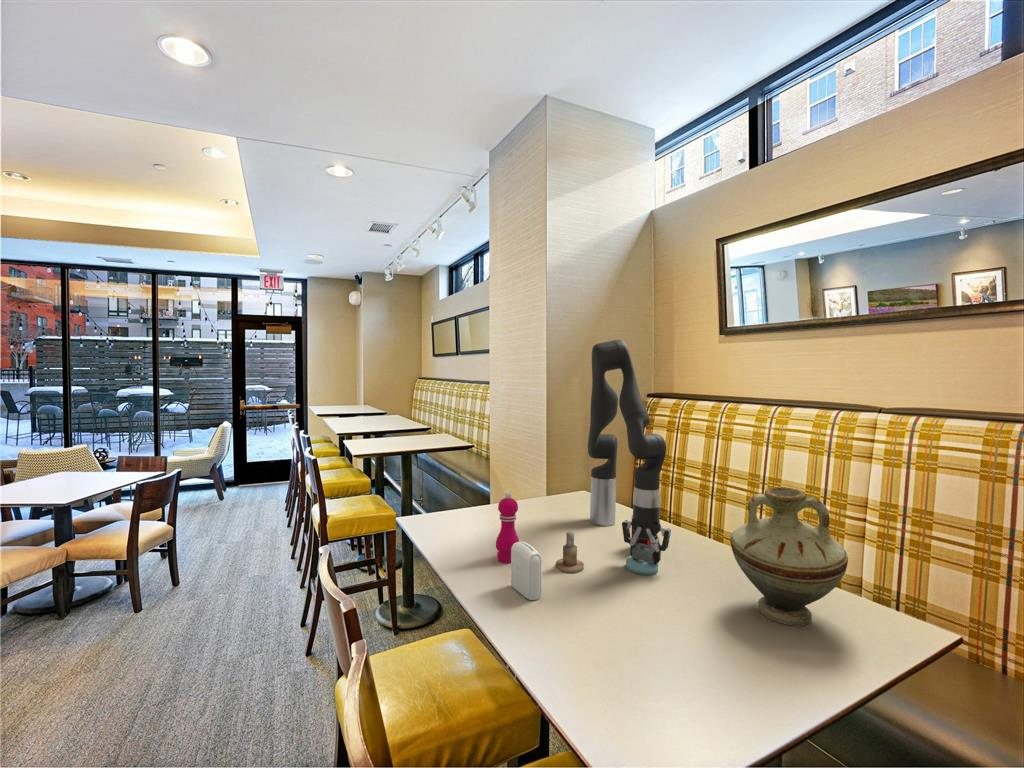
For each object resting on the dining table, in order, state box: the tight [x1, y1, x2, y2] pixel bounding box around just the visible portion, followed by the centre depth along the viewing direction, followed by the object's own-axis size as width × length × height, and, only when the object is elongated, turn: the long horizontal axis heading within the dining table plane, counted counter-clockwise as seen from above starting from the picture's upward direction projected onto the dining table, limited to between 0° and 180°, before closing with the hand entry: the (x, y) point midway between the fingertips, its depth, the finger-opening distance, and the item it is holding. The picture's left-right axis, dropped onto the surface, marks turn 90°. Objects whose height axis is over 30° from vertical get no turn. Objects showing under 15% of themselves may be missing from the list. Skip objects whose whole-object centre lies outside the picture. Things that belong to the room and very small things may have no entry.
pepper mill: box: [495, 492, 520, 564], centre depth 139 cm, size 7×7×20 cm
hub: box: [625, 555, 659, 576], centre depth 134 cm, size 9×9×4 cm
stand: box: [555, 531, 585, 574], centre depth 134 cm, size 8×8×10 cm
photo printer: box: [510, 541, 542, 601], centre depth 119 cm, size 10×4×12 cm, turn 29°
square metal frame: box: [632, 543, 655, 562], centre depth 134 cm, size 6×6×2 cm
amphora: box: [729, 487, 849, 627], centre depth 109 cm, size 24×24×30 cm
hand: (645, 560), depth 134 cm, fingers closed on square metal frame, 5 cm apart
